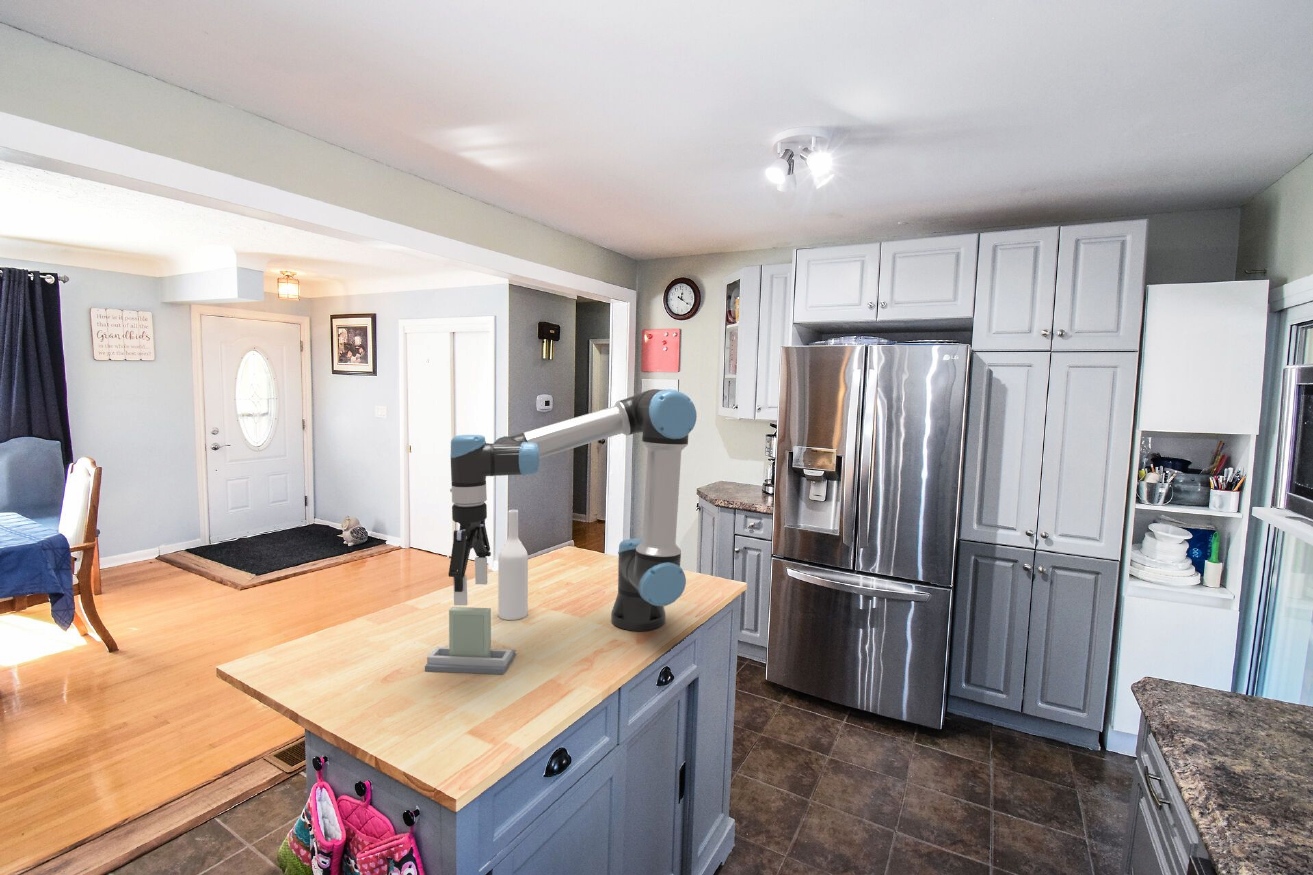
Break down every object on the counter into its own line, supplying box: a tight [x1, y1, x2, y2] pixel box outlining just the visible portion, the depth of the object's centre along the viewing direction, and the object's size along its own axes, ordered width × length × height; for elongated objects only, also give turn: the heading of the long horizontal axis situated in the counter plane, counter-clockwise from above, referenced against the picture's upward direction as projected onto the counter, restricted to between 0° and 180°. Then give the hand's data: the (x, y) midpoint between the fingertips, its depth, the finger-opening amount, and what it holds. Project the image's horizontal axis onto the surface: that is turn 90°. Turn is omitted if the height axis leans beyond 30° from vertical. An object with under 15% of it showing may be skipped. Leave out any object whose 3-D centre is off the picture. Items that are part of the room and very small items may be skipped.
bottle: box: [497, 509, 529, 621], centre depth 169 cm, size 8×8×30 cm
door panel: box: [448, 606, 492, 658], centre depth 139 cm, size 9×2×12 cm, turn 88°
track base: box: [424, 646, 517, 675], centre depth 140 cm, size 18×10×3 cm, turn 88°
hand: (471, 593), depth 138 cm, fingers open, 13 cm apart
